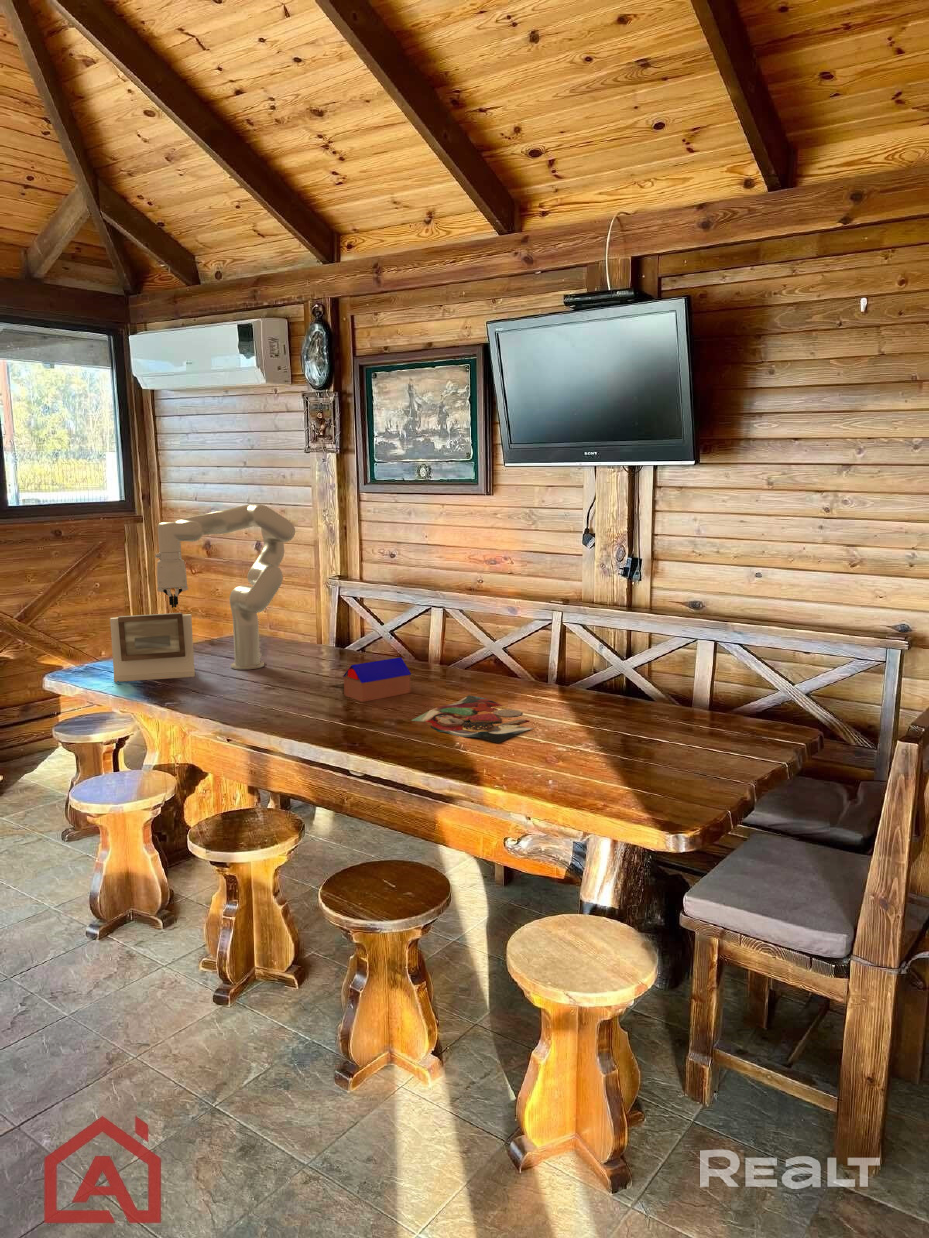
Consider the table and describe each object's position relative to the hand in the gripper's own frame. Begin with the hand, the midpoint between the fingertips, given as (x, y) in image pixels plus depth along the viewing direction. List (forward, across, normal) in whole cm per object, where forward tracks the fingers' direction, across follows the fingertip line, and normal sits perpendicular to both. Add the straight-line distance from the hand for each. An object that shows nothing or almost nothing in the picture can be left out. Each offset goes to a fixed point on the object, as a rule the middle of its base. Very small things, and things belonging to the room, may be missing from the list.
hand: (174, 606), depth 332 cm
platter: (+28, +90, -87) cm, 128 cm away
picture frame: (+18, -8, 0) cm, 20 cm away
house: (+27, +66, -45) cm, 84 cm away
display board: (+27, -9, +5) cm, 28 cm away
